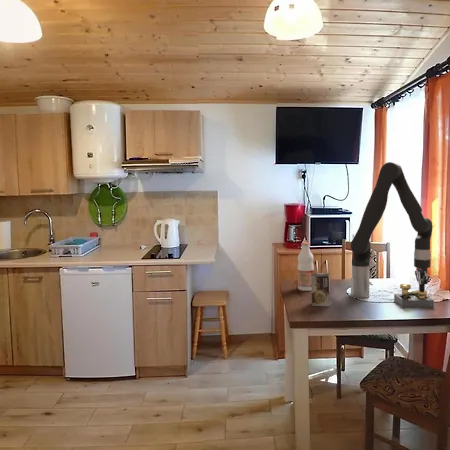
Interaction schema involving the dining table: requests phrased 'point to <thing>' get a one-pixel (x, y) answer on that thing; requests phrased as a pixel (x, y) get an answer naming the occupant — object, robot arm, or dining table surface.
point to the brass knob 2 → (421, 294)
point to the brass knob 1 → (405, 290)
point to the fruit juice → (305, 268)
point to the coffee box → (320, 289)
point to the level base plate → (413, 301)
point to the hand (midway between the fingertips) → (421, 291)
